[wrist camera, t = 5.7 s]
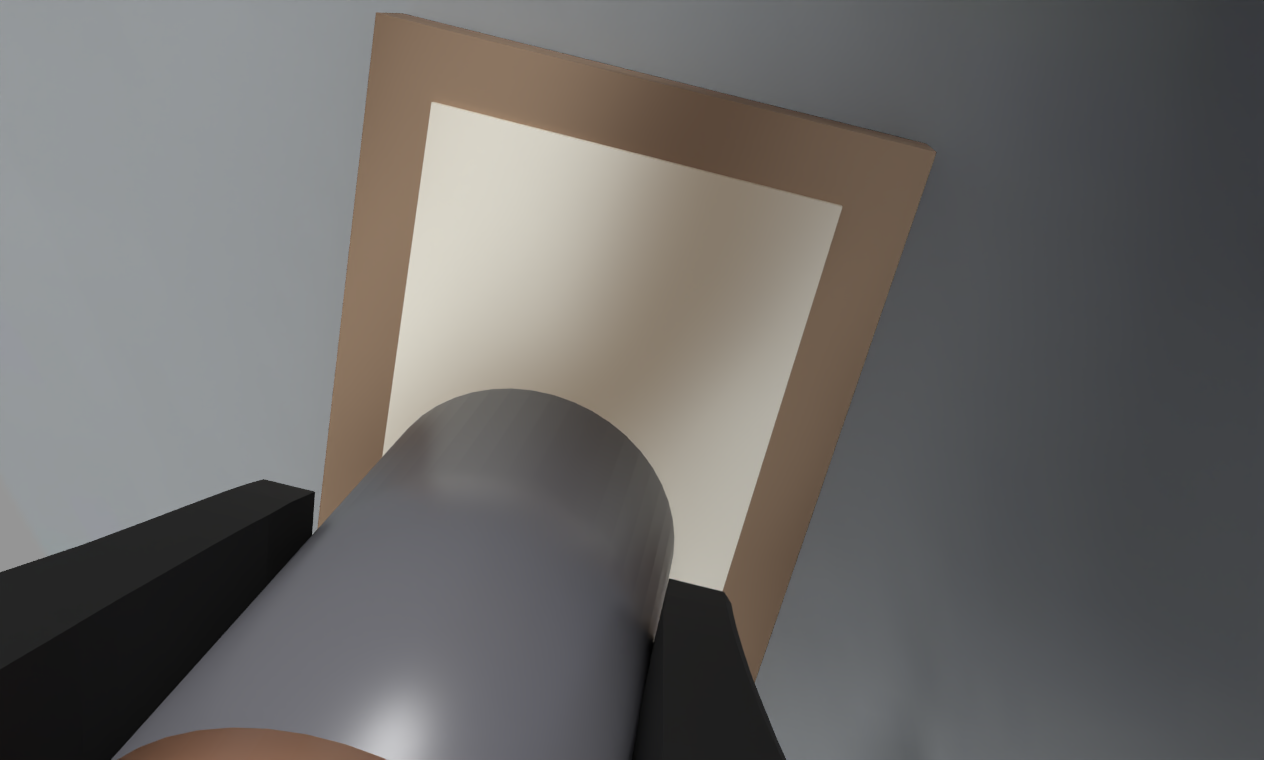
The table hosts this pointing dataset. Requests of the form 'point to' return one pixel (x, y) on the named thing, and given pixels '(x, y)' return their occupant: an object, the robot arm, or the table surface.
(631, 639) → the gray and tan capsule
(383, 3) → the table surface
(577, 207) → the brown picture frame
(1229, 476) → the table surface
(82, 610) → the robot arm
